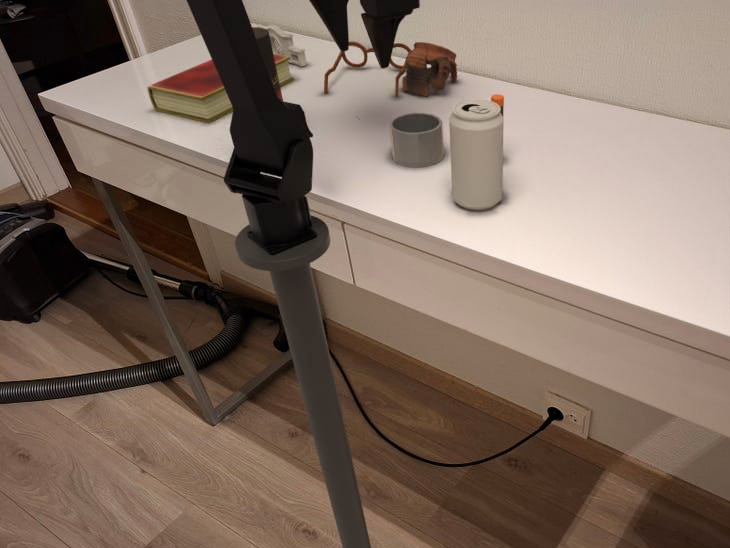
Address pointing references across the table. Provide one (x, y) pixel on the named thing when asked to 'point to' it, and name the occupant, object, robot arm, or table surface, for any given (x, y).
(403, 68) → the glasses
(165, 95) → the hardcover book
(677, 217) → the table surface
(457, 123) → the beverage can
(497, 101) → the rod
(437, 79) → the brown jagged blocky figurine
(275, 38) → the garden wall model
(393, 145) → the pen pot
